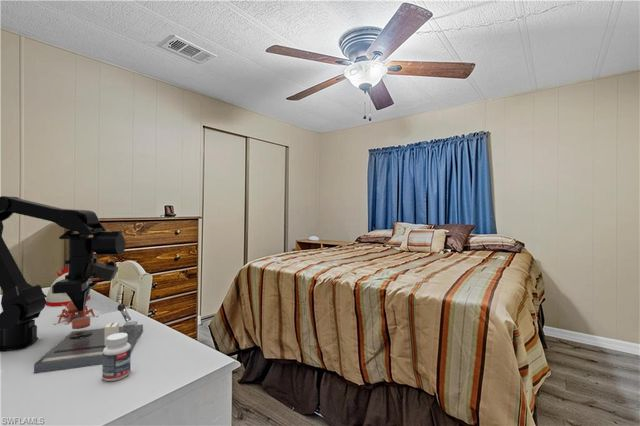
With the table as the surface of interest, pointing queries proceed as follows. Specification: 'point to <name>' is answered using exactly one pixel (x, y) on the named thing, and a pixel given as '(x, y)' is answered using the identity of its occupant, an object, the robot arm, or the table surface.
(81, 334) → the panel
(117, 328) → the fader
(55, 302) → the kitchen timer
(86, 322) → the button
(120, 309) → the toggle
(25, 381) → the table surface
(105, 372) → the pill bottle
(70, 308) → the robot toy
